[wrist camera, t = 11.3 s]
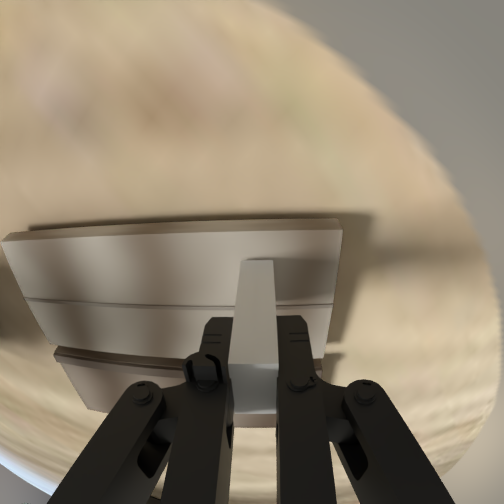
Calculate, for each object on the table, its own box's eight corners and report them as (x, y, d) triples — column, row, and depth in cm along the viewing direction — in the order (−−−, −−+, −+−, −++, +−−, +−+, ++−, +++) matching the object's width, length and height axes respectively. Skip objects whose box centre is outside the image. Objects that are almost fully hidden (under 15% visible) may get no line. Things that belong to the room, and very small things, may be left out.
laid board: (92, 399, 24) (86, 411, 23) (60, 342, 21) (52, 354, 20) (309, 414, 23) (310, 428, 22) (319, 354, 20) (322, 369, 19)
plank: (56, 333, 20) (49, 344, 19) (10, 232, 16) (-1, 242, 15) (320, 344, 20) (323, 359, 18) (337, 218, 15) (343, 230, 14)
